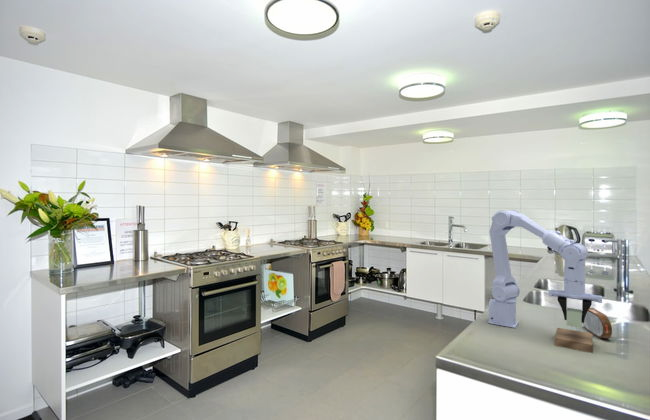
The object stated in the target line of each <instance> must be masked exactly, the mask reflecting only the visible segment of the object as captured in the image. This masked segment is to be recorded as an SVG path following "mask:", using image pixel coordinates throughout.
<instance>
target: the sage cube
mask: <svg viewBox="0 0 650 420" xmlns="http://www.w3.org/2000/svg"><path fill="white" fill-rule="evenodd" d="M582 325H583V323H582V309H578V308H572V307H567V320H566V326H568V327H574V328H578V329H582Z"/></svg>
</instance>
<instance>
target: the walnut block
mask: <svg viewBox="0 0 650 420" xmlns="http://www.w3.org/2000/svg"><path fill="white" fill-rule="evenodd" d="M593 336H594V334H593V333H591V332H585V331H580V330H573V329H567V328H564V327H563V328H561V327H557V328H556V332H555V336H554V346H556V347H561V348H566V349H570V350H575V351H576V350H577V351H581V352H585V353H589V354H590V353H591V354H593V353H594V350H593V349H594V341H593V340H594V338H593Z"/></svg>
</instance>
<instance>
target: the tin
mask: <svg viewBox="0 0 650 420" xmlns="http://www.w3.org/2000/svg"><path fill="white" fill-rule="evenodd" d="M582 325H583V326H584V328H585V329H586V330H587V331H589V333H592V334H593V336H595V337H597V338H598V339H610V338H612V335H613V329H612V328H613V327H612V323H611V321H610V319H609V317H608V315H606V314H605V313H603V312H602V311H599V310H598V309H595V308H594V307H590V308H589V310H588V312H587V314H586V316H585V320H584V323H582Z"/></svg>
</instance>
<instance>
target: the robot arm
mask: <svg viewBox="0 0 650 420" xmlns="http://www.w3.org/2000/svg"><path fill="white" fill-rule="evenodd" d="M491 221H492V222H491V224H490V228H489V239H490V244H491V251H492V258H493V259H492V260H493V265H494V273H495V277H494V279H493V280H492V288H491V294H492V297H493V298H489V302H488V321H487V322H488V323H487V324H492V325H497V326H503V327H509V328H513V329H516V328H517V326H518V324H519V321H518V320H517V298H518V297H519V296H520V293H521V292H520V291H521V290H520V287H519V286H518V284H517V280H516V278H515V277H514V276H513V275H512V269H511V264H510V258H509V252H508V245H507V238H506V235H507V234H508V233H509V232H510V231H511V230H512V229H515V228H517V227H518V228H522V229H525V230H527V231H528V232H530V233H531V234H534V235H536V236H537V237H538V238H540V239H541V240H542V244H543V245H544V246H546V247H548V248H550V249H552V250H553V251H555V252H556V253H558V254H559V255H561V258H562V259H563V260H564V265H563V267H564V268H563V278H564V279H563V290H558V289H548V297H553V298H554V297H556V298H557V302H558V304H559V306H560V308H561V310H562V313H563V318H564V319H563V320H564V321H567V308H568V305H567V303H568V301H567V300H568V299H570V300H578V301H582V303H581V304H582V305H581V306H582V308H581V310H582V324H583V323H584V320H585V316H586V314H587V312H588V310H589V308H592V307H591V306H592V304H593V302H595V303H598V304H602V303H603V296H602V295H599V294H598V295H596V294H591V293H586V260H587V258H588V256H589V249H588V248H587V247H586V246H585V245H584V244H582V243H579V242H577V243H575V240H574V239H569V238H567V236H564V235H562V232H561V231H559V230H556V231H555V230H552V229H551V230H547V229H546V228H544V227H543V226H542V225H540V224H538V223H537V222H536V221H534V220H532V219H531V218H530V217H528V216H527V215H525V214H524V213H522V212H520V211H518V210H515V209H512V210H498V211H497V212H495V213H494V214H493V215H492V217H491Z"/></svg>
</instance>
